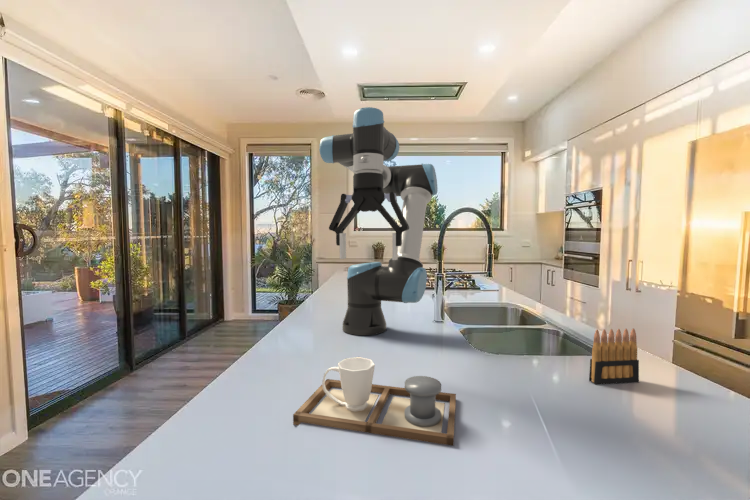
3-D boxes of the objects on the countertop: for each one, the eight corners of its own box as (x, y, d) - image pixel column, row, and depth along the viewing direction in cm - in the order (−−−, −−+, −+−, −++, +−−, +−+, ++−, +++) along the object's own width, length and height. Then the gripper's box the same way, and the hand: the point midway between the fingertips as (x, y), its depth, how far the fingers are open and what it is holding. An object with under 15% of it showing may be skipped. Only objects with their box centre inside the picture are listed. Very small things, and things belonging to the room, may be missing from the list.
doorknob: (407, 405, 64) (407, 374, 64) (442, 410, 62) (442, 378, 62) (401, 424, 58) (401, 389, 57) (439, 429, 56) (440, 393, 56)
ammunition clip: (594, 384, 74) (596, 330, 74) (588, 381, 76) (590, 328, 76) (639, 382, 76) (640, 329, 75) (632, 379, 78) (633, 327, 77)
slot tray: (327, 387, 73) (327, 378, 73) (455, 402, 66) (455, 393, 66) (293, 424, 59) (293, 414, 59) (453, 449, 52) (453, 438, 52)
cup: (372, 416, 60) (372, 371, 60) (317, 413, 61) (317, 369, 61) (377, 397, 67) (376, 357, 67) (327, 394, 68) (327, 355, 68)
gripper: (315, 173, 84) (316, 259, 85) (416, 168, 77) (415, 261, 78) (327, 178, 91) (328, 257, 92) (420, 174, 85) (420, 258, 86)
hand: (368, 259), depth 85 cm, fingers open, 13 cm apart
